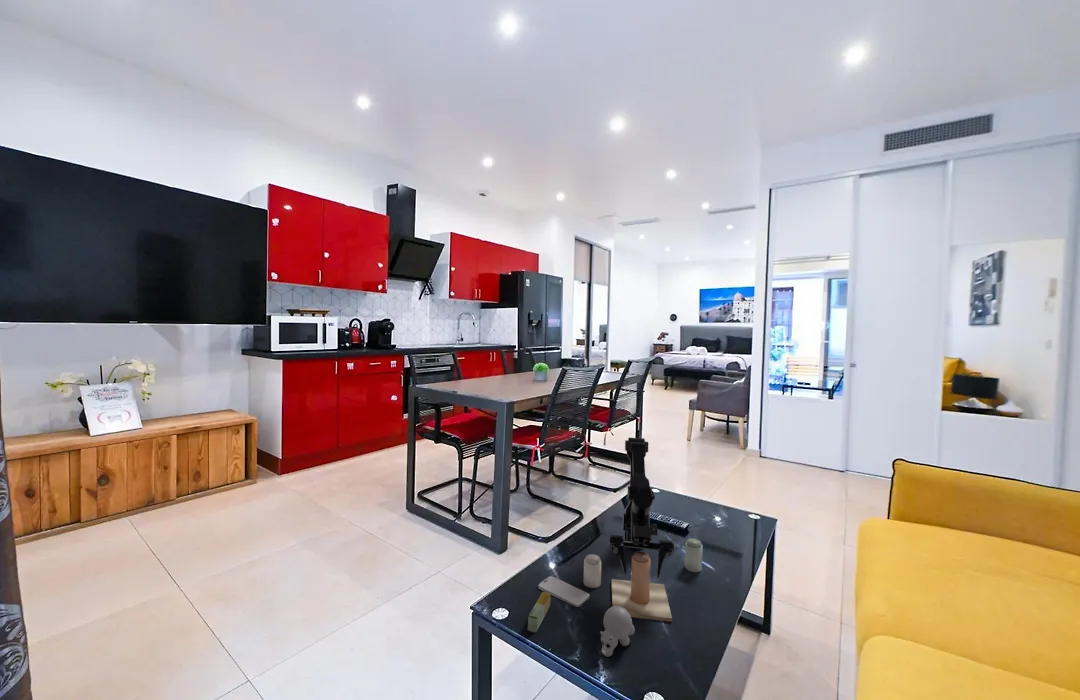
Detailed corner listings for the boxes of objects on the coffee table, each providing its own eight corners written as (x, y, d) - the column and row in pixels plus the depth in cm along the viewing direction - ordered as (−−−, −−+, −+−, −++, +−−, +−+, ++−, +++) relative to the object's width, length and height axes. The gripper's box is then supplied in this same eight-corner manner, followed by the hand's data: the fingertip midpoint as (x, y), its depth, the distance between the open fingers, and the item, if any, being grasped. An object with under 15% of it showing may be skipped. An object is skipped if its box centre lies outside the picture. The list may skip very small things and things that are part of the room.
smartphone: (578, 606, 124) (536, 585, 133) (578, 610, 124) (536, 589, 133) (591, 594, 130) (550, 574, 139) (591, 598, 130) (550, 578, 139)
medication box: (536, 633, 114) (537, 619, 113) (526, 631, 114) (527, 616, 114) (550, 606, 125) (551, 593, 125) (541, 604, 126) (542, 590, 126)
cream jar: (579, 582, 137) (580, 557, 137) (591, 575, 141) (592, 551, 140) (592, 590, 133) (593, 564, 133) (604, 583, 137) (605, 558, 136)
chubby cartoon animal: (592, 658, 109) (586, 634, 106) (615, 618, 117) (609, 595, 114) (618, 672, 104) (612, 648, 102) (639, 630, 113) (634, 606, 110)
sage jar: (681, 567, 147) (682, 541, 147) (689, 561, 151) (690, 536, 150) (696, 574, 143) (697, 547, 143) (704, 568, 147) (705, 542, 146)
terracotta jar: (627, 595, 129) (628, 552, 128) (642, 591, 131) (643, 549, 130) (637, 606, 124) (638, 561, 123) (653, 602, 126) (654, 558, 125)
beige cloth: (611, 582, 137) (611, 579, 137) (663, 587, 135) (663, 584, 135) (612, 614, 121) (612, 611, 121) (671, 621, 119) (672, 618, 119)
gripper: (610, 508, 132) (609, 563, 121) (674, 514, 129) (678, 571, 118) (609, 523, 140) (608, 575, 130) (669, 528, 137) (673, 583, 127)
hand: (641, 576), depth 126 cm, fingers open, 9 cm apart
